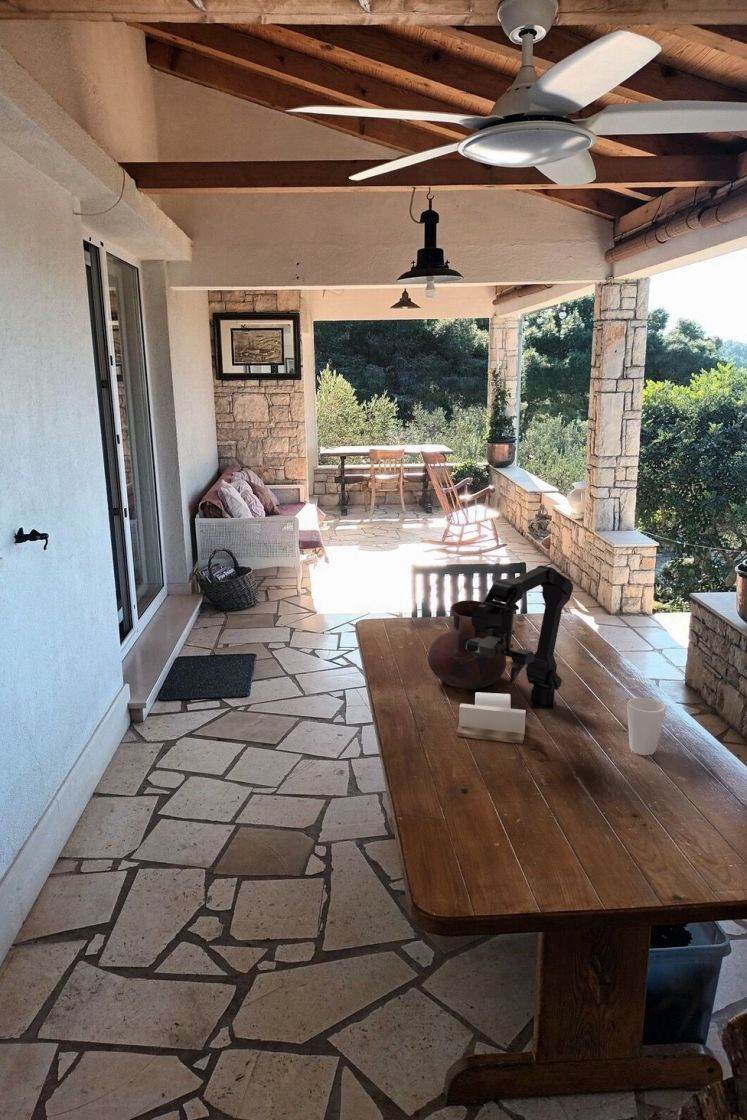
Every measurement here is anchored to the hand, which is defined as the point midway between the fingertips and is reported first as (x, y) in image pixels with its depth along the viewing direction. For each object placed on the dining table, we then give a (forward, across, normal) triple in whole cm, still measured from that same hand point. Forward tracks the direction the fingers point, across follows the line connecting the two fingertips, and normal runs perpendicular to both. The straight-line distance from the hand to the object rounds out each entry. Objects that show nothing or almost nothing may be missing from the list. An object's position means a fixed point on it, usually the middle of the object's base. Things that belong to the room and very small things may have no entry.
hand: (496, 680), depth 217 cm
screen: (+14, +2, -4) cm, 15 cm away
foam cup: (+12, +38, +13) cm, 42 cm away
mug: (+14, -4, +7) cm, 16 cm away
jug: (+12, -24, +24) cm, 36 cm away
